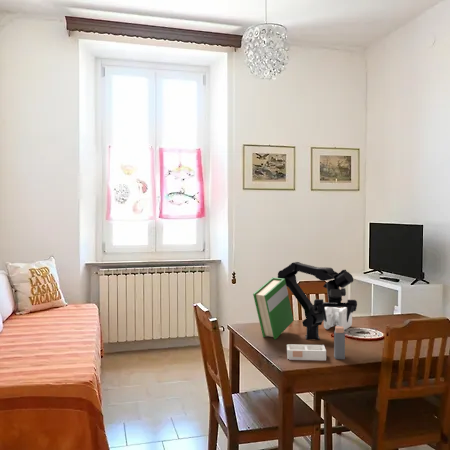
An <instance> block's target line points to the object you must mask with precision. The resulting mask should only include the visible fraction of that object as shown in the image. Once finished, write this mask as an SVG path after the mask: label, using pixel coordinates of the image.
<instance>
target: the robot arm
mask: <svg viewBox="0 0 450 450" xmlns="http://www.w3.org/2000/svg"><path fill="white" fill-rule="evenodd" d="M298 272H300V273H304V274H306V275H311V276H314V277H315V278H316V279H317V280H319V281H321V282H322V281H323V282H325V281H326V282H325V283H324V284H323V285H322V286H323V288H324V289H326V292H327V301H328V302H327V301H324V299H321V298H319V299H318V298H317V299H316V298H315V299H314V301H313V303H312V301H311V300H310V299H309V297H308V296H307V294H306V293H305V291H304V290H303V289H302V287H300V285H299V284H298V282H297V276H296V275H297V274H298ZM277 278H283V279H285V282H286V286H287V289H289V290H290V292H291V294H293V296H294V297H295V299H296V300H297V302H298V303H299V304H300V306H301V307H302V309H303V311H304V317H305V319H304V320H302V326H303V327H304V328H305V327H306V334H305V340H308V341H309V340H310V341H311V340H314V341H319V340H321V338H320V336H319V326H322V325H323V324H322V323H324V320H325V322H327V318H326V313H325V307H337V308H344V307H347V311H346V320H347V322H348V319H349V316H350V313H352V314H353V313H354V312H356V311H357V306H358V301H357V300H356V299H347V300H346V302H342V301H343V297H346V296H347V291H346V287H348V286H349V285H350V284H352V283H353V282H354V277H353V275H352V274H351V273H350V272H349V271H347V270H346V269H342V270H341V271H340V272H337V271H335V270H334V269H333V268H332V267H326V266H325V267H322V266H321V267H319V266H315V265H310V264H306V263H303V262H301V261H295V262H291V263H290V264H289V265H288V266H286V267H284V268H283V269H282V270H279V271H278V272H277Z"/></svg>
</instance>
